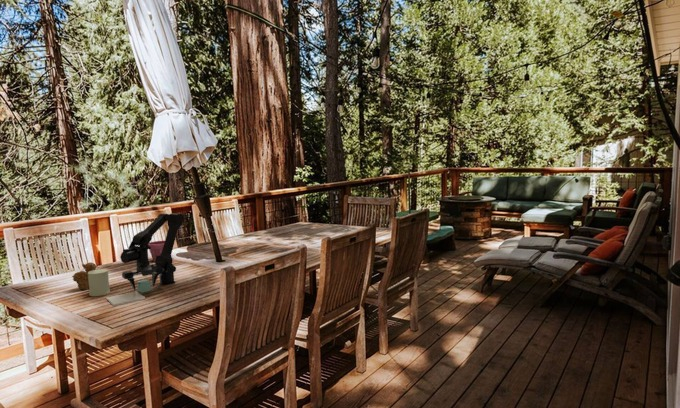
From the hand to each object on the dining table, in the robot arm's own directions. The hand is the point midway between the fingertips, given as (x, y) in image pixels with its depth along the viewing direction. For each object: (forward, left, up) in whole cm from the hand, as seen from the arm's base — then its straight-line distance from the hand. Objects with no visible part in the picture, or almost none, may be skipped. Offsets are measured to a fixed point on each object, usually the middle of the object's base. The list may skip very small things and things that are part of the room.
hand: (144, 288), depth 218 cm
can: (+18, -12, -1) cm, 22 cm away
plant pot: (-30, -64, -1) cm, 71 cm away
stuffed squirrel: (+20, -28, -2) cm, 34 cm away
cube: (0, 0, -1) cm, 1 cm away
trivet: (+11, +8, -1) cm, 14 cm away
